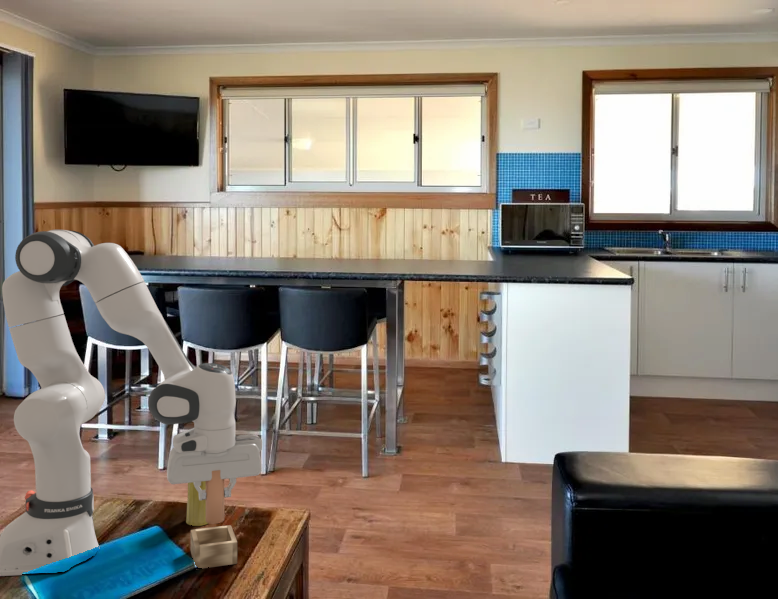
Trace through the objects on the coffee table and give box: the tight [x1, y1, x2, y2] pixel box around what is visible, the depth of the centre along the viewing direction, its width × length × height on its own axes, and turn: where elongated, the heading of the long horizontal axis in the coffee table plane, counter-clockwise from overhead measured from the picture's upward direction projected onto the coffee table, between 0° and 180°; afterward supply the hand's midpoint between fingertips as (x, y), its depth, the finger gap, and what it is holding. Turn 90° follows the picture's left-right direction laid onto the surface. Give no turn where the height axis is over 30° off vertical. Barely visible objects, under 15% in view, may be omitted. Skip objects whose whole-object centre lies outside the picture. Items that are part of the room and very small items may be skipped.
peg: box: [206, 470, 225, 525], centre depth 159 cm, size 4×4×12 cm
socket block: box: [190, 524, 238, 569], centre depth 160 cm, size 9×9×5 cm
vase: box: [185, 481, 209, 527], centre depth 178 cm, size 6×6×14 cm
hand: (214, 497), depth 159 cm, fingers closed on peg, 4 cm apart
